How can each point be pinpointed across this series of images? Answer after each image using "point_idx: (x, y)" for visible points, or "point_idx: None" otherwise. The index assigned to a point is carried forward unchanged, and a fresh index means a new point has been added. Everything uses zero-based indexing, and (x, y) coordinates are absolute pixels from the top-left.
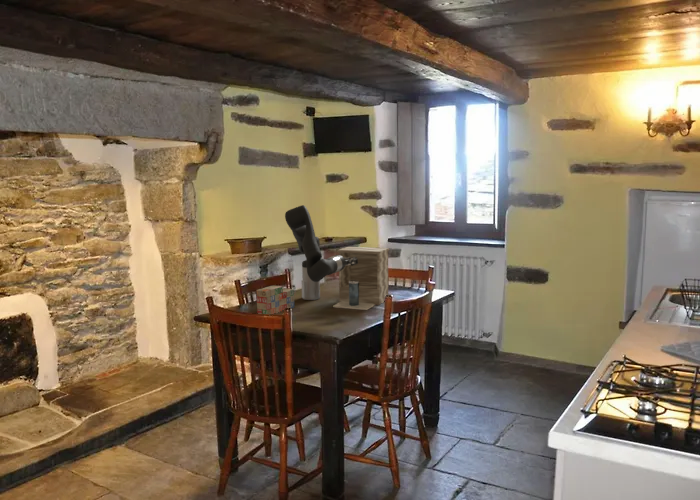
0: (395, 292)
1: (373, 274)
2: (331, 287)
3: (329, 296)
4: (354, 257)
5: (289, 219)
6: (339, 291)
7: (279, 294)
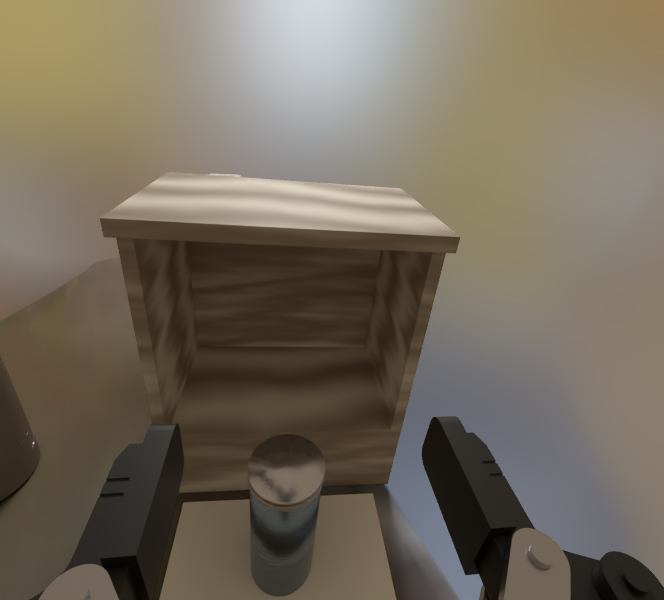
0: None
1: (312, 311)
2: (97, 308)
3: (96, 412)
4: (459, 449)
5: None
6: None
7: None
